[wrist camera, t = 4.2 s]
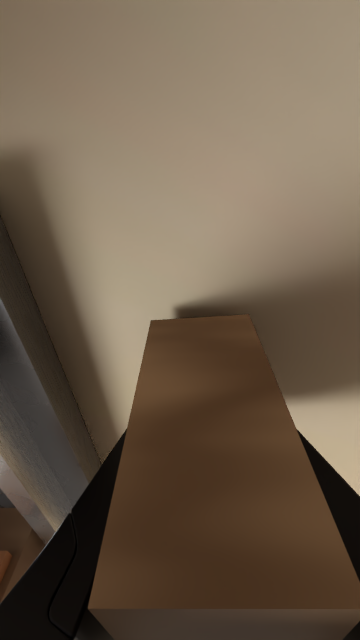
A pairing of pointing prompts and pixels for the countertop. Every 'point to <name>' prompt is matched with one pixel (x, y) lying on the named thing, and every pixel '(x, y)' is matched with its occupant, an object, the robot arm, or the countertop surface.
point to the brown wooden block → (218, 503)
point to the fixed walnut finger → (16, 548)
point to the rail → (36, 412)
